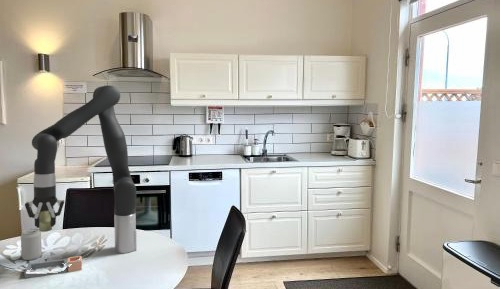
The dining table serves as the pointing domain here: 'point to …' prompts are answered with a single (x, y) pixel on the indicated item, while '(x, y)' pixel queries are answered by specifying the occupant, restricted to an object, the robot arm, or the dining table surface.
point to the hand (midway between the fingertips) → (45, 226)
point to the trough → (45, 264)
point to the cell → (45, 220)
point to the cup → (75, 263)
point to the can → (31, 244)
